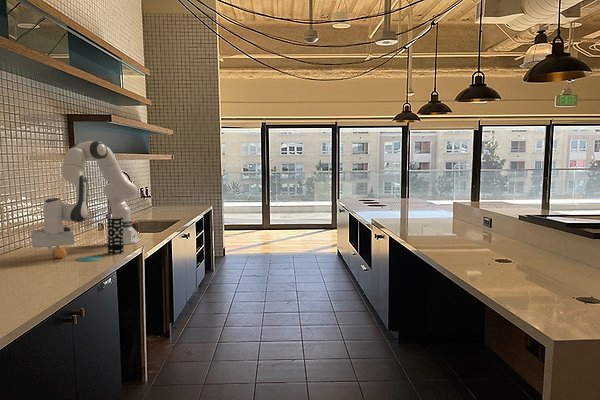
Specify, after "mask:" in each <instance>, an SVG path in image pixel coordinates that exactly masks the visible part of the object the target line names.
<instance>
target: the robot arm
mask: <svg viewBox="0 0 600 400" xmlns="http://www.w3.org/2000/svg"><path fill="white" fill-rule="evenodd" d="M88 161H95V162H96V164H97V166H98V168H99V171H100V172H101V175H102V177H103V179H105V180H106V181H107V182H108V183H106V184H105V185H104V188H103V193H104V196H106V198H107V200H108V203H109V206H110V211H111V217H123V240H124V245H131V244H132V245H133V244H137V243H138V242H140V241H141V240H142V238H139V237H138V232H137V230H136V229H135V228H134V227H133V224H134V220H131V208H130V206H128V204H127V202H126V201H129V200H134V199H136V198H137V196H138V194H139V193H138V192H139V191H138V190H139V189H138V187H137V185H135V184H134V183H133V182H131V181H130V180H129V178H128V177H127V176H126V175H125V173H124V172H123V171H122V169H121V167H120V166H121V165H119V162H118V161H117V159H116V155H114V153H113V151H112V150H111V148H110V147H108V146H107V145H106V144H105V143H104V142H102V141H100V140H93V141H92V140H90V141H89V140H87V141H84V142H78V143H75V144H74V145H73V146H72V147H71V148H69V149H68V150H67V151H66V153H65V156H64V158H63V162H62V165H61V166H62V167H61V169H60V170H61V172H60V173H61V177H62V178H63V179H64V180H65V181H66V182H68V183H70V184H72V185H74V186H75V188H76V201H75V203H67V202H63V201H62V200H61V198H59V197H52V198H47V199H46V200H44V202H43V206H42V207H43V208H42V211H43V212H42V215H43V219H44V220H43V229H34V230H32V231H31V232H30V238H31V242H30V243H31V246H30V247H32V248H33V249H36V248H37V249H39V248H47V249H48V251H49V255H51V256H52V255H54V256H55V251H56V249H58V248H60V246H70V245H71V246H72V245H74V244H75V243H76V241H75V239H76V238H75V235H74V233H73V228H72V227H71V226H68V225H64V224H63V222H74V223H83V222H84V221H85V220H86V219H87V218H88V216H89V207H88V191H89V189H88V188H89V187H88V186H89V185H88V179H87V177H86V176H85V173H84V172H85V166H86V164H85V163H86V162H88ZM106 243H107V244H108V240H107V241H106ZM52 247H55V250H52Z"/></svg>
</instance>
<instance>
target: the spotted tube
mask: <svg viewBox="0 0 600 400" xmlns="http://www.w3.org/2000/svg"><path fill="white" fill-rule="evenodd" d="M106 224H107V241H108V243H107V254H108V255H121V254H123V253H125V252H124V251H125V250H124V249H125V248H124V245H125V244H124V240H123V217H112V216H111V217H107V219H106Z"/></svg>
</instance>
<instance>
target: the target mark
mask: <svg viewBox="0 0 600 400" xmlns="http://www.w3.org/2000/svg"><path fill="white" fill-rule="evenodd" d="M100 259H101V260H103V259H104V257H103V256H99V255H89V256H88V255H87V256H80V257H78V258H76V259H75V260H76V261H78V262H84V263H85V262H95V261H96V260H97V261H100ZM97 261H96V262H97Z"/></svg>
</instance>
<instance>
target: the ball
mask: <svg viewBox="0 0 600 400" xmlns="http://www.w3.org/2000/svg"><path fill="white" fill-rule="evenodd" d="M55 250H56V251H55ZM55 250H54V251H55V255H54V256H55V257H56V258H58V259H64V258H65V257H66V256H67V251H66V249H65V248H63V247H59V248H58V249H56V248H55Z"/></svg>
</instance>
